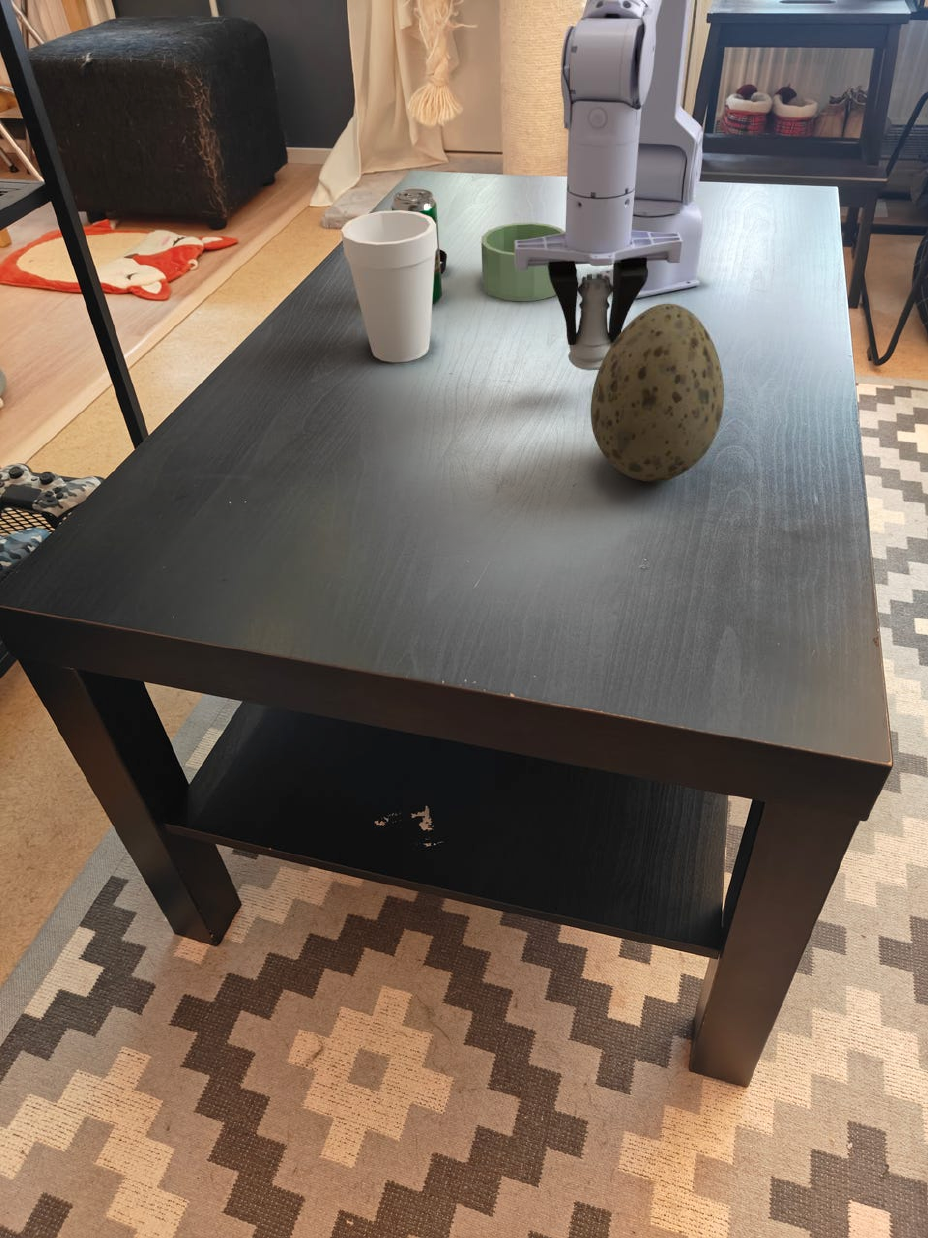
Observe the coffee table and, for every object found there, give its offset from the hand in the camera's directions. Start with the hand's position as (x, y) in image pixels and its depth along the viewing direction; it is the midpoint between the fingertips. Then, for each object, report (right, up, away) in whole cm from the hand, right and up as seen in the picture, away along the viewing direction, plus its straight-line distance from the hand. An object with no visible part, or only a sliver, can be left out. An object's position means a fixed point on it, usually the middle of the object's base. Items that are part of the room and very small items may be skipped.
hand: (592, 339), depth 85 cm
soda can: (-17, +12, +23) cm, 31 cm away
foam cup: (-19, +3, +14) cm, 24 cm away
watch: (-18, +16, +28) cm, 37 cm away
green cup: (-5, +14, +25) cm, 29 cm away
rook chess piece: (0, -2, +2) cm, 2 cm away
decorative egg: (+4, -14, -6) cm, 15 cm away
